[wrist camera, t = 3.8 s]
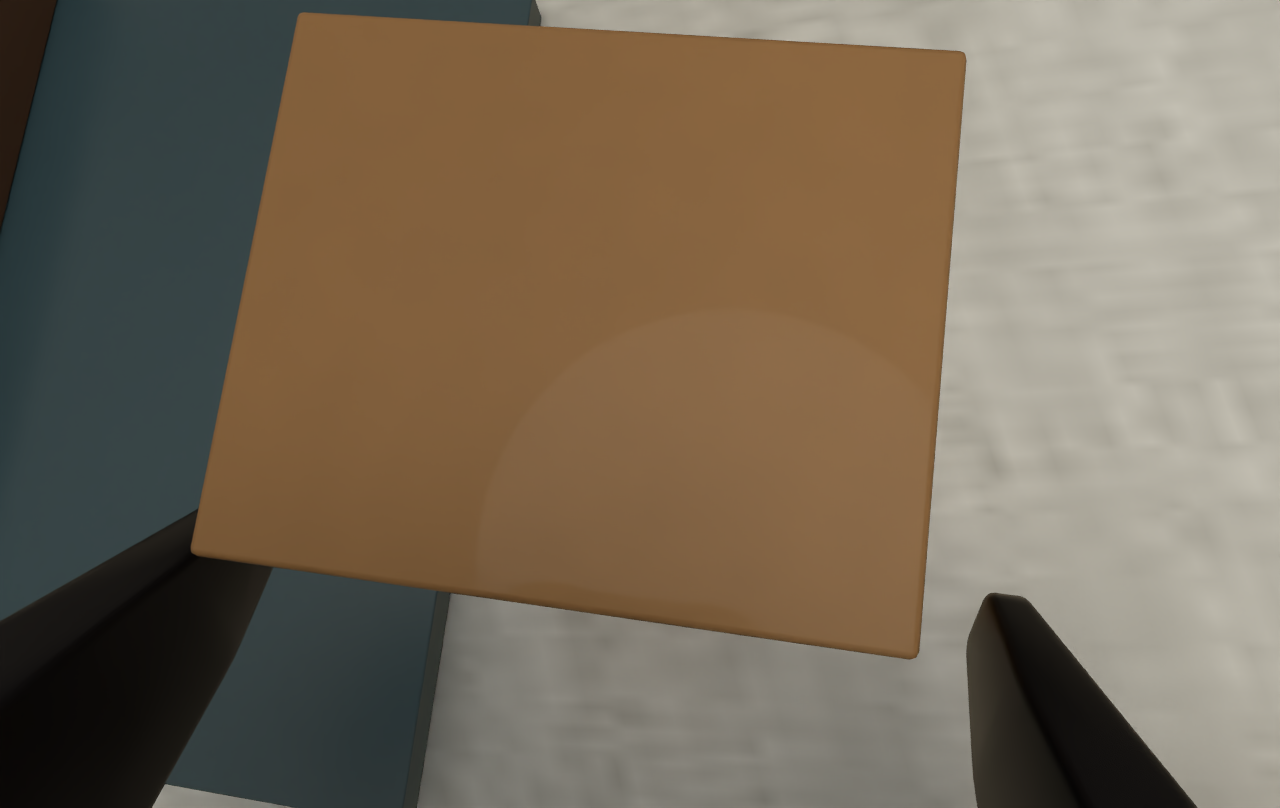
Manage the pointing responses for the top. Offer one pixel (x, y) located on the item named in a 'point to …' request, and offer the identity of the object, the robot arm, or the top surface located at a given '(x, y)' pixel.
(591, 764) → the top surface
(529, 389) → the cardboard carton
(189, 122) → the board
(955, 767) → the top surface
